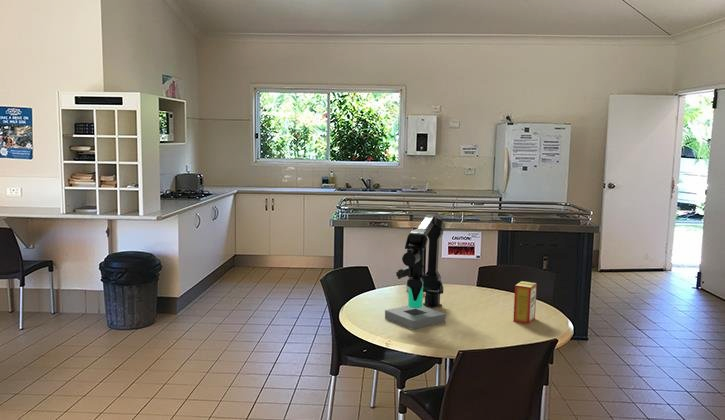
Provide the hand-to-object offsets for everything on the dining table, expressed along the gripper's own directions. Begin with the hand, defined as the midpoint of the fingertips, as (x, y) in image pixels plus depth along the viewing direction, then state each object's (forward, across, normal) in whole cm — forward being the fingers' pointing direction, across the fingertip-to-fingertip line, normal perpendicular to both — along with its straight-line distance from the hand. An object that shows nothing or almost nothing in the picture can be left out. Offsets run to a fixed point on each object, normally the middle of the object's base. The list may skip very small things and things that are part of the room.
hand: (415, 298), depth 246 cm
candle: (+4, 0, 0) cm, 4 cm away
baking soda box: (+10, -10, +46) cm, 48 cm away
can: (+10, -49, -4) cm, 50 cm away
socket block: (+9, 0, 0) cm, 9 cm away
